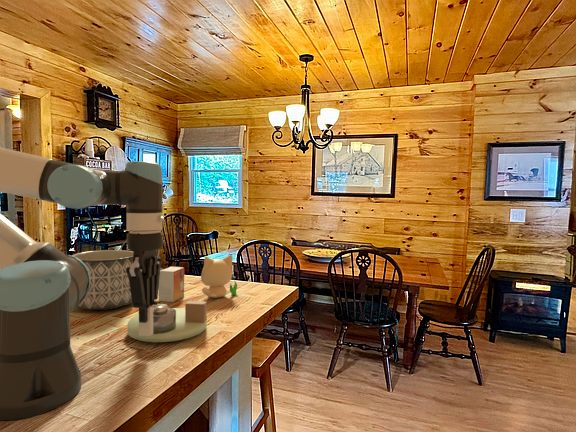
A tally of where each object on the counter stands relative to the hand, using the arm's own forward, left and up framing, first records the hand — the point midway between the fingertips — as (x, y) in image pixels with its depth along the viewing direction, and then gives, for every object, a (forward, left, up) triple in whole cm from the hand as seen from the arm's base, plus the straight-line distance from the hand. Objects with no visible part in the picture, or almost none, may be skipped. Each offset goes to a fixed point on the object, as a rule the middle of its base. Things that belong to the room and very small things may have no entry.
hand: (146, 334), depth 84 cm
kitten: (+48, -5, -5) cm, 49 cm away
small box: (+43, +10, -5) cm, 45 cm away
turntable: (+14, 0, -5) cm, 15 cm away
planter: (+33, +28, -5) cm, 44 cm away
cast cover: (+8, 0, -2) cm, 8 cm away
